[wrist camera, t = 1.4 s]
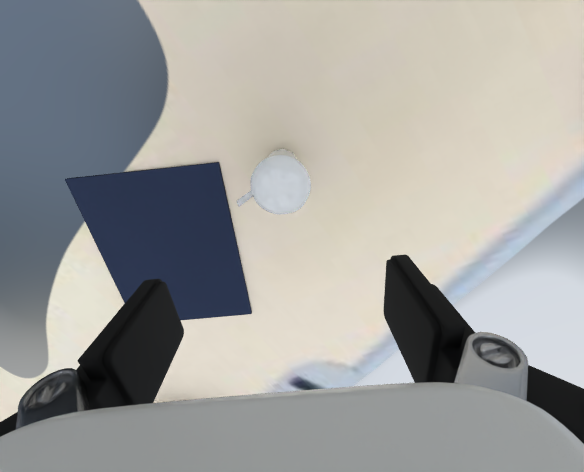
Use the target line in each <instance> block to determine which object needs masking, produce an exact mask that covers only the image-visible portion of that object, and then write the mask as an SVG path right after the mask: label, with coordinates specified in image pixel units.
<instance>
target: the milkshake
mask: <svg viewBox="0 0 584 472" xmlns="http://www.w3.org/2000/svg"><path fill="white" fill-rule="evenodd" d="M310 189H311V182H310V177H309V174H308V172H307V170H306V168H305V167H304V166H303V165H302V164H301V162H300V161H299V160H298V159H297V158H296V156H295V155H294V153H293V152H291V151H288V150H286V149H284V148H283V149H279V150H275V151H273V152H272V153H271V154H270V155H269V156H268V157H267V158H266V159H264V160H263V161H261V162H260V163H259V164H258V166H257V167H256V168H255V170H254V172H253V174H252V176H251V191H249V192H248V193H247V194H245V195H244V196H242V197H241V198H240V199H238V200H237V204H238V206H241V205H242V204H243V203H245V202H246V201H247V200H249V199H250V198H251V197H252V196H253V197H254V199H255V200H256V202H257V203H258V205H259V206H260V207H262V208H263V209H265V210H266V211H268V212H271V213H274V214H287V213H292V212H295V211H297V210H298V209H300V208H301V207H302V206H303V205H304V204H305V202H306V200H307V198H308V196H309V193H310Z"/></svg>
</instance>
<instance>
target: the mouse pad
mask: <svg viewBox="0 0 584 472" xmlns="http://www.w3.org/2000/svg"><path fill="white" fill-rule="evenodd" d="M65 181H66V183H67V185H68V187H69V189H70V191H71V193H72V195H73V197H74V199H75V201H76V204H77V206H78V208H79V210H80V211H81V214H82V216H83V218H84V220H85V222H86V224H87V226H88V228H89V230H90V232H91V234H92V237H93V239H94V241H95V243H96V245H97V247H98V249H99V251H100V253H101V255H102V257H103V259H104V261H105V263H106V265H107V267H108V270H109V272H110V274H111V276H112V278H113V280H114V282H115V284H116V286H117V288H118V290H119V292H120V294H121V296H122V298H123V300H124V303H126V302H127V300H128V299H129V298H130V297H131V296H132V294H133V293H134V292H135V291H136V290H137V288H138V287H139V286H140V285H141V284H142V282H143V281H144V280H150V279H161V280H162V282H165V283H166V284H167V287H168V289H169V292H170V295H171V297H172V300H173V302H174V305H175V308H176V310H177V313H178V316H179V318H180V320H189V319H200V318H211V317H222V316H233V315H244V314H251V313H252V311H251V306H250V302H249V297H248V292H247V288H246V283H245V279H244V274H243V270H242V265H241V260H240V256H239V251H238V247H237V242H236V238H235V233H234V228H233V224H232V219H231V215H230V210H229V206H228V201H227V197H226V192H225V187H224V183H223V178H222V174H221V169H220V165H219V162H216V163H206V164H197V165H188V166H179V167H169V168H160V169H151V170H141V171H132V172H123V173H113V174H104V175H95V176H86V177H76V178H67V179H65Z"/></svg>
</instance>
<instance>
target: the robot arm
mask: <svg viewBox="0 0 584 472" xmlns="http://www.w3.org/2000/svg"><path fill="white" fill-rule="evenodd" d="M384 316H385V319H386V321H387V324H388V326H389V328H390V330H391V332H392V334H393V336H394V339H395V341H396V343H397V345H398V347H399V349H400V351H401V354H402V356H403V357H404V360H405V362H406V364H407V366H408V369H409V371H410V373H411V375H412V377H413V379H414V382H415V383H401V384H384V385H367V386H354V387H341V388H328V389H315V390H302V391H290V392H278V393H265V394H253V395H241V396H229V397H217V398H206V399H194V400H183V401H172V402H161V403H153V402H154V399H155V397H156V395H157V393H158V391H159V388H160V386H161V384H162V382H163V380H164V378H165V375H166V373H167V371H168V369H169V367H170V364H171V362H172V360H173V358H174V356H175V353H176V351H177V349H178V347H179V345H180V342H181V340H182V338H183V334H184V329H183V326H182V324H181V321H180V318H179V316H178V313H177V310H176V308H175V305H174V302H173V300H172V297H171V295H170V292H169V289H168V287H167V284H166V283H165V282H162V280H161V279H150V280H144V281H143V282H142V284H141V285H140V286H139V287H138V288H137V290H136V291H135V292H134V293H133V294H132V296H131V297H130V298H129V299H128V300H127V302H126V303H125V304H124V305H123V306H122V308H121V309H120V310H119V311H118V312H117V314H116V315H115V316H114V317H113V319H112V320H111V321H110V322H109V323H108V325H107V326H106V327H105V328H104V329H103V331H102V332H101V333H100V334H99V335H98V337H97V338H96V339H95V340H94V341H93V343H92V344H91V345H90V346H89V347H88V349H87V350H86V351H85V352H84V353H83V355H82V356H81V357H80V358H79V359H78V362H79V364H80V366H79V367H78V368H77V370H75V369H72V368H66V369H62V370H58V371H56V372H53V373H51V374H49V375H47V376H46V377H44V378H42V379H41V380H39V381H38V382H37V383H35V384H34V385H33V386H32V387H31V388H30V389H29V390H28V391H27V392H26V393H25V394H24V396H23V397H22V398H21V400H20V403H19V406H18V412H17V413H15V414H14V415H12V416H10V417H9V418H7V419H5V420H3V421H2V422H0V472H584V389H583V388H581V387H578V386H576V385H574V384H571V383H569V382H567V381H564V380H562V379H560V378H557V377H555V376H552V375H550V374H548V373H546V372H543V371H541V370H539V369H536V368H534V367H532V366H529V365H528V360H527V357H526V355H525V354H524V352H523V351H522V350H521V349H520V348H519V347H518V346H517V345H516V344H515V343H513V342H511V341H510V340H508V339H506V338H504V337H502V336H499V335H496V334H492V333H487V332H478V333H475V332H474V331H473V330H472V328H471V327H470V326H469V325H468V324H467V322H466V321H465V320H464V319H463V318H462V316H461V315H460V314H459V313H458V312H457V310H456V309H455V308H454V307H453V306H452V304H451V303H450V302H449V301H448V300H447V298H446V297H445V296H444V295H443V294H442V292H441V291H440V290H439V289H438V288H437V287H436V286H435V285H433V284H430V282H429V281H428V280H427V279H426V277H425V276H424V275H423V274H422V273H421V271H420V270H419V269H418V268H417V266H416V265H415V264H414V263H413V261H412V260H411V259H410V258H409V257H408V256H407V255H397V256H392V257H391V260H387V263H386V280H385V296H384Z"/></svg>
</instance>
